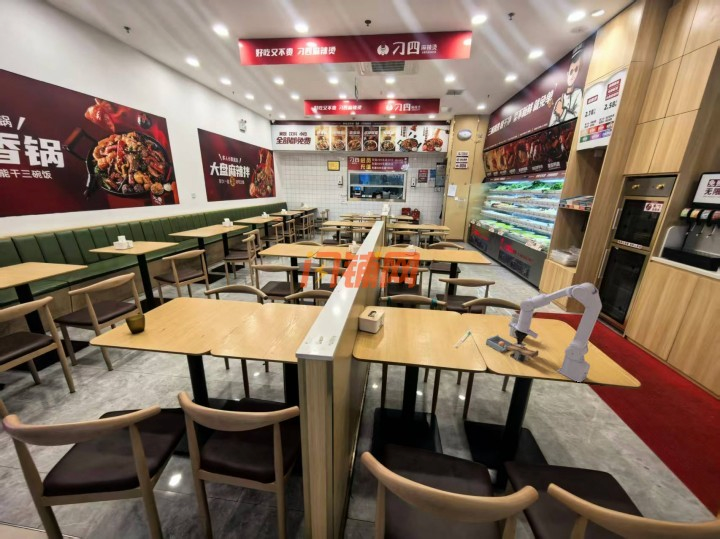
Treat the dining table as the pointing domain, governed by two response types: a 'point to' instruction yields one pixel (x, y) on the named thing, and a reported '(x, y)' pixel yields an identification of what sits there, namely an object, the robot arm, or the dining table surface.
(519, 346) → the seesaw
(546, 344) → the dining table surface
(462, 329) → the dining table surface
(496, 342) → the tray
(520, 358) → the stand
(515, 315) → the cup
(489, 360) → the dining table surface
